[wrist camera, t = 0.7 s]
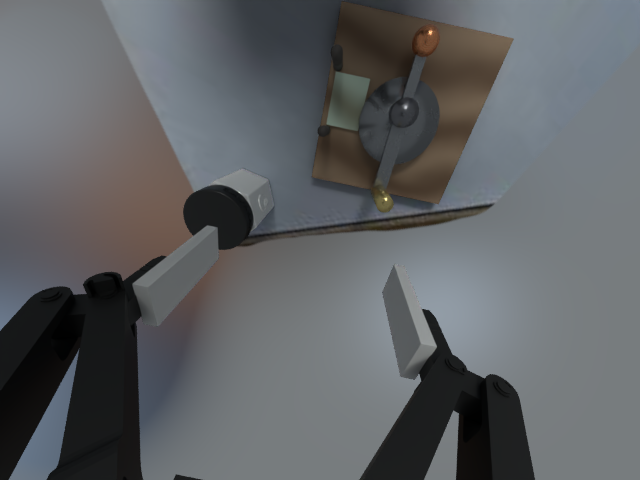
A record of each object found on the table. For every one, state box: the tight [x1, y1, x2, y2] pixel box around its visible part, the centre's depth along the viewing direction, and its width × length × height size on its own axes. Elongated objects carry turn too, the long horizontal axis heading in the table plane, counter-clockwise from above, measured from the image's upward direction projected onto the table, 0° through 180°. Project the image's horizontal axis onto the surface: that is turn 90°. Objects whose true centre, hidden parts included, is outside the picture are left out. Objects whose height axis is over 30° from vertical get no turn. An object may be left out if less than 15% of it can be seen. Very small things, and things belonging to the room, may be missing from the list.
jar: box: [183, 168, 274, 250], centre depth 33 cm, size 9×8×12 cm
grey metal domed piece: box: [358, 24, 440, 212], centre depth 27 cm, size 19×10×8 cm, turn 169°
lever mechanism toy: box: [312, 1, 513, 204], centre depth 28 cm, size 20×20×8 cm
